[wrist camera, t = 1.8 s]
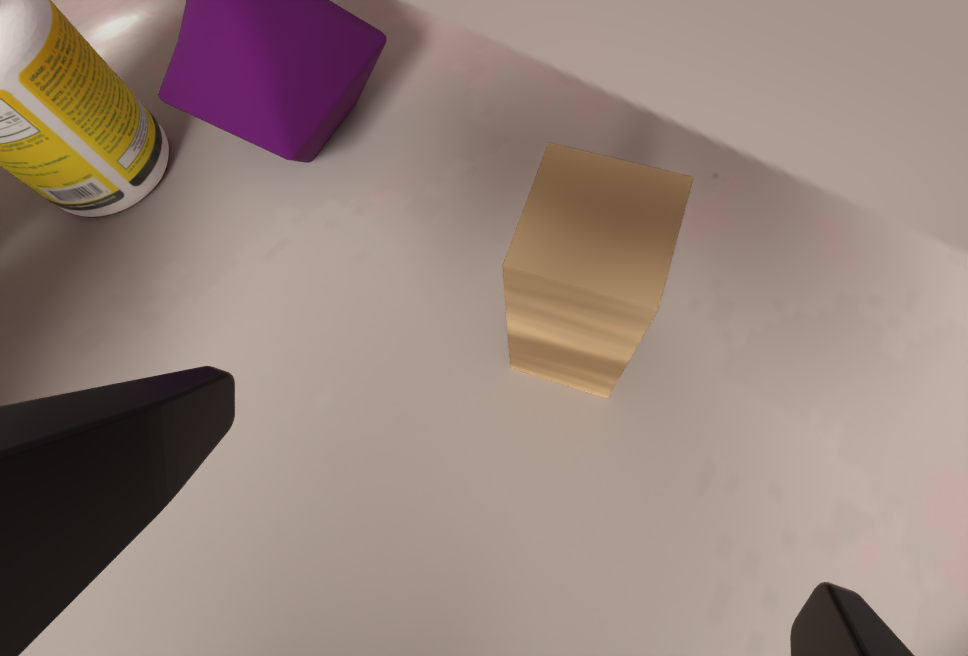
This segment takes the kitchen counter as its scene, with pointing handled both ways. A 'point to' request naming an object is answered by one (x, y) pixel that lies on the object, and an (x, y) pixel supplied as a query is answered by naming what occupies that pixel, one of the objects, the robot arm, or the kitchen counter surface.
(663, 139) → the kitchen counter surface
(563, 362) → the oak block
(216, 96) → the perfume bottle
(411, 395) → the kitchen counter surface
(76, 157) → the pill bottle
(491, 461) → the kitchen counter surface
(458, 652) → the kitchen counter surface
